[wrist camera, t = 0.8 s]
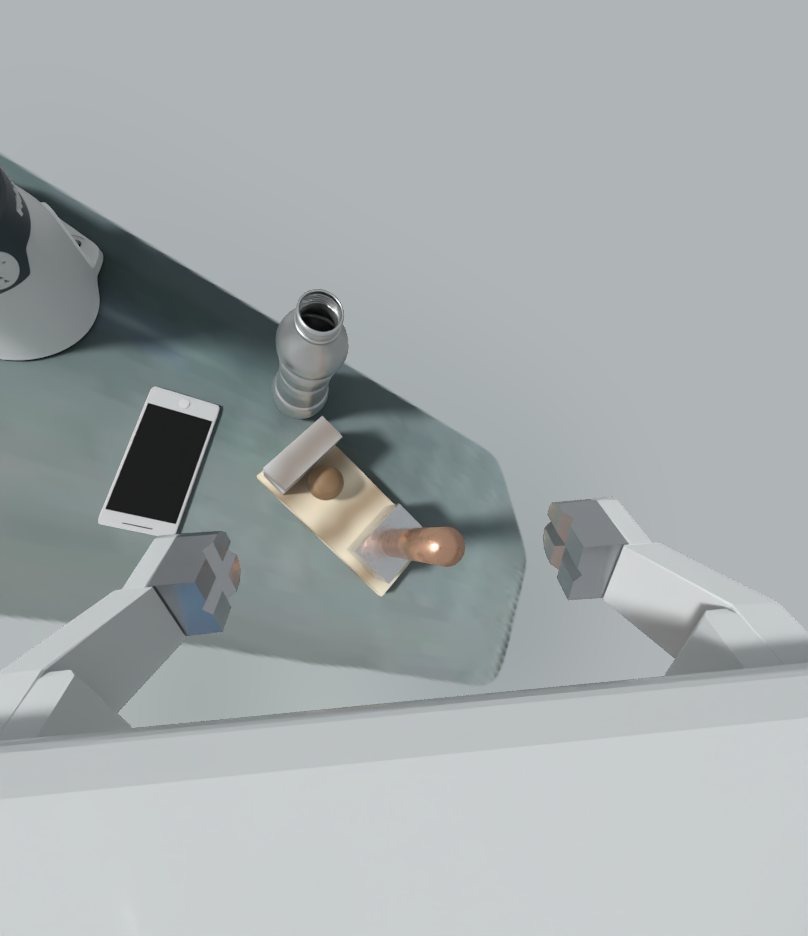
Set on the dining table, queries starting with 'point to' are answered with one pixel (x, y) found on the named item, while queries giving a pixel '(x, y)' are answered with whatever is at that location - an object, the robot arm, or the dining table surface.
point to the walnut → (325, 482)
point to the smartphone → (160, 464)
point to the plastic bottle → (309, 353)
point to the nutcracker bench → (333, 517)
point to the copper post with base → (404, 544)
